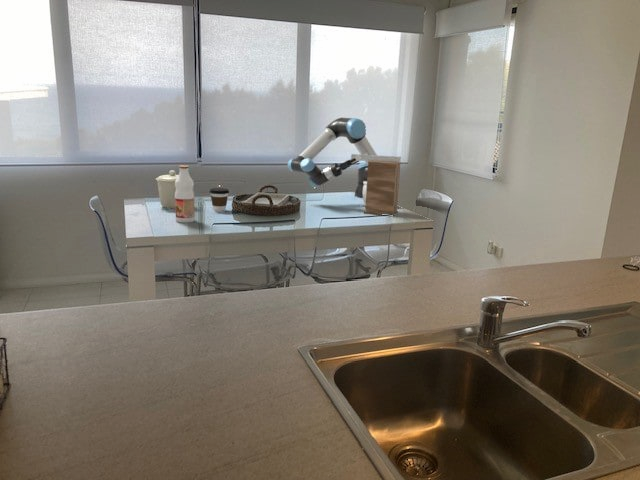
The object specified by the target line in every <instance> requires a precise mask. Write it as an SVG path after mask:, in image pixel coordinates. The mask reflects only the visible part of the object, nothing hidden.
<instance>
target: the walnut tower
mask: <svg viewBox="0 0 640 480" xmlns="http://www.w3.org/2000/svg"><path fill="white" fill-rule="evenodd" d="M401 162H402V161H400V163H398V162H379V161H368V175H367V191H366V206H364V207H365V211H364V212H363V214H365V215H373V216H374V215H375V216H382V214H392V215H394V214H396V213H397V212H398V213H399V210H398V202H399V201H398V200H399V199H398V198H399V188H400V187H399V186H400V176H401V175H400V174H401V173H400V172H401ZM398 213H397V214H398ZM397 214H396V215H397ZM394 216H395V215H394Z"/></svg>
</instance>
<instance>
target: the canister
mask: <svg viewBox="0 0 640 480" xmlns="http://www.w3.org/2000/svg"><path fill="white" fill-rule="evenodd" d="M178 176H179V174H176V171H175V170H174V169H172V170H169V172H168V174H163V175H160V176H158V177H156V178H155V180H156V183H157V188H158V196H159V201H160V205H161V206H162V207H163V208H165V209H168V208H170V210H174V209H175V192H176V187H175V181H176V179H177V178H178Z"/></svg>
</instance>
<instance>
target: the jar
mask: <svg viewBox="0 0 640 480" xmlns="http://www.w3.org/2000/svg"><path fill="white" fill-rule="evenodd" d="M363 183H364V186H363V198H362V200H363V204H362V205H363V206H364V207H366V191H367V181H363Z"/></svg>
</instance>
